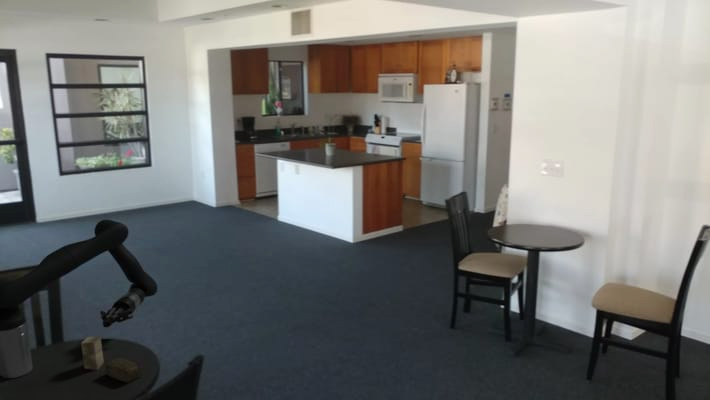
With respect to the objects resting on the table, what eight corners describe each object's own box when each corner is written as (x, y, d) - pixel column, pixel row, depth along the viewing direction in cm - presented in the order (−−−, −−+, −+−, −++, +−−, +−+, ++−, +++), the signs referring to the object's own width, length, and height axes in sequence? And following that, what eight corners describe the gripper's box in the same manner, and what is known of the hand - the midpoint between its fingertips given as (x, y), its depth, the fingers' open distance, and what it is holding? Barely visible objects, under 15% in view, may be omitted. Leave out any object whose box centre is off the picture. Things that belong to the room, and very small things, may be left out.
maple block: (84, 369, 191) (81, 342, 189) (91, 362, 195) (87, 336, 193) (97, 369, 191) (94, 342, 189) (103, 363, 195) (100, 336, 193)
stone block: (128, 385, 181) (126, 371, 180) (105, 376, 187) (103, 363, 186) (142, 376, 186) (141, 363, 185) (120, 368, 192) (118, 355, 191)
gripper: (108, 296, 217) (86, 315, 200) (142, 296, 216) (122, 315, 200) (111, 314, 219) (89, 334, 202) (144, 313, 218) (124, 334, 201)
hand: (105, 325), depth 201 cm, fingers closed
